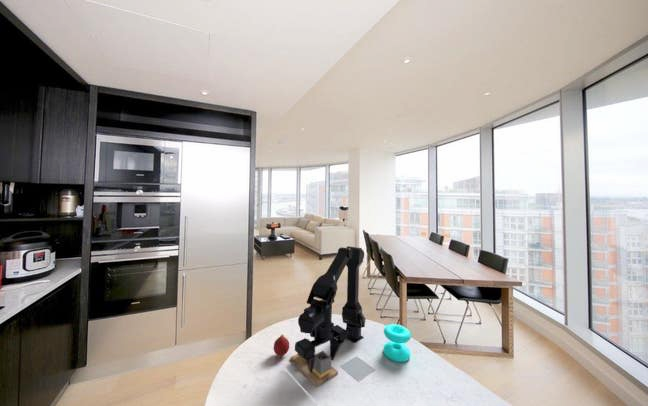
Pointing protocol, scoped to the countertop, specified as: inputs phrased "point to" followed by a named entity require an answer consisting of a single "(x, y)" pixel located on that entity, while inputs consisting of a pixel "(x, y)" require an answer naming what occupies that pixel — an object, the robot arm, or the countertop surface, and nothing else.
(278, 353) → the onion
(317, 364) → the sleeve
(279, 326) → the countertop surface
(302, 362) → the pin board
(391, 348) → the donuts
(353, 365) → the mat
